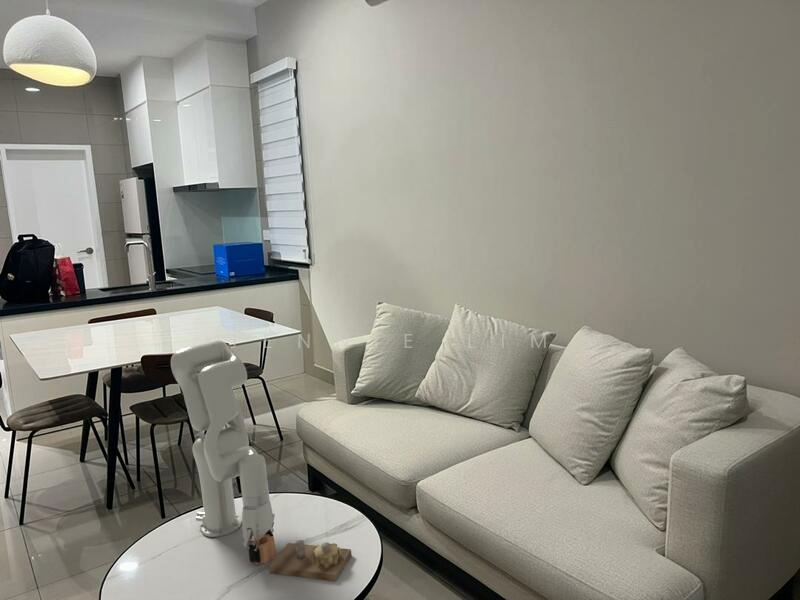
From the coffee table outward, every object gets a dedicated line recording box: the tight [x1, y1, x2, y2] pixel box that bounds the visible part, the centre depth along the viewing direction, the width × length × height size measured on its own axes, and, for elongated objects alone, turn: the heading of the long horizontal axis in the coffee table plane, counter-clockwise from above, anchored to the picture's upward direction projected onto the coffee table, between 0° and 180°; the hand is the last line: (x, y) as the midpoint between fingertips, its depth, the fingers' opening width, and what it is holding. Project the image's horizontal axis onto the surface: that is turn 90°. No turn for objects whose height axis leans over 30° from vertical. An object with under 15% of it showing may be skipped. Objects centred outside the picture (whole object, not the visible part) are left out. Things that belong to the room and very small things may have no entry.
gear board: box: [268, 539, 353, 582], centre depth 172 cm, size 20×12×6 cm, turn 74°
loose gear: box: [252, 534, 277, 565], centre depth 178 cm, size 7×7×5 cm
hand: (262, 553), depth 178 cm, fingers closed on loose gear, 7 cm apart
